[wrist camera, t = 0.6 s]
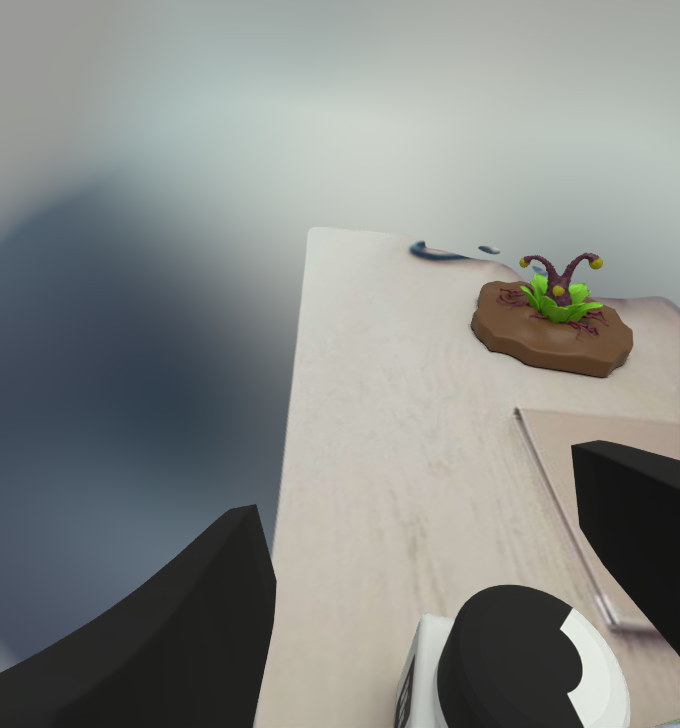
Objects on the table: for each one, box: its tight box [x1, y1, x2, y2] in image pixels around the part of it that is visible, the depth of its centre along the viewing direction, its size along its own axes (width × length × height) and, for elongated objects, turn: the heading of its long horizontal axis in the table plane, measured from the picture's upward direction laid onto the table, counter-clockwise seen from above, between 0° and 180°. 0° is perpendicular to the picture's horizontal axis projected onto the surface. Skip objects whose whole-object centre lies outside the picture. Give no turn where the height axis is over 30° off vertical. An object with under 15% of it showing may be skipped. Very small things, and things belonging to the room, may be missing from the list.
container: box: [393, 585, 631, 728], centre depth 22 cm, size 8×8×13 cm
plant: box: [471, 253, 633, 377], centre depth 64 cm, size 20×20×11 cm
